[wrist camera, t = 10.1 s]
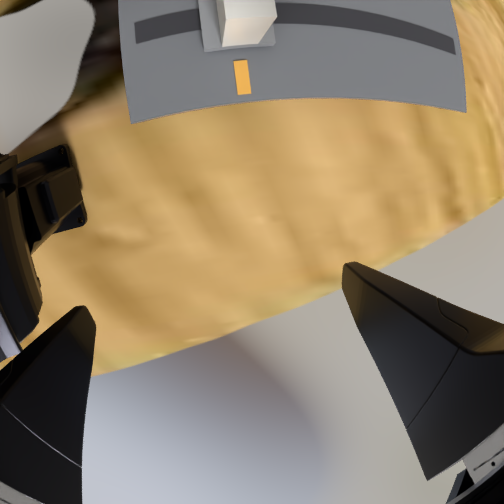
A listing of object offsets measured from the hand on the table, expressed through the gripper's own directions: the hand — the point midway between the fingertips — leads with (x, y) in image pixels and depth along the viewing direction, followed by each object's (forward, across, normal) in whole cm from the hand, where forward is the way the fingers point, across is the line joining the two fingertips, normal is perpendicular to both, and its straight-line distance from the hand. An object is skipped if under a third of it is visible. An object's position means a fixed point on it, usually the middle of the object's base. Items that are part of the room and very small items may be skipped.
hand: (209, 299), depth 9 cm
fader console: (+12, -9, -12) cm, 19 cm away
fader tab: (+10, -3, -12) cm, 16 cm away
